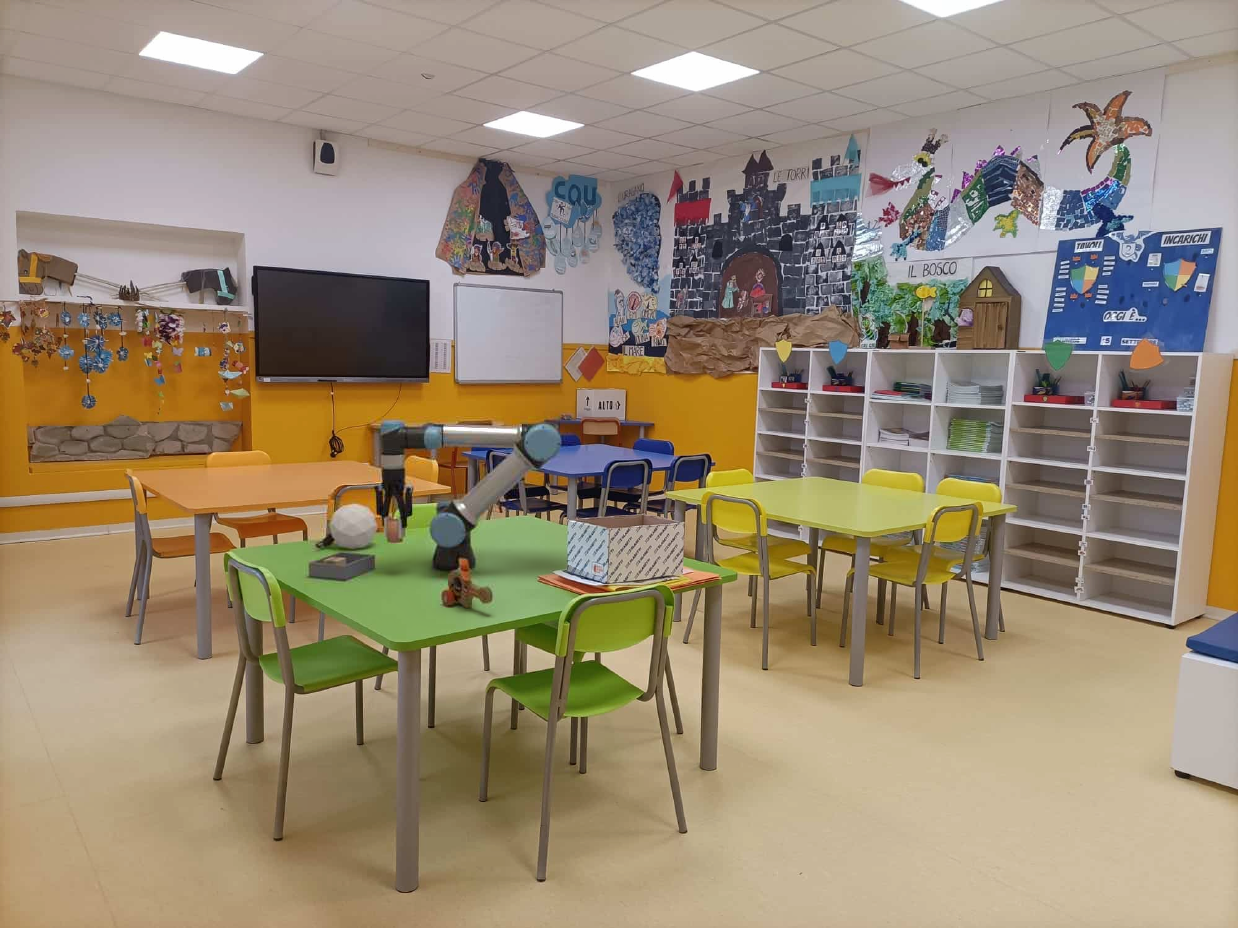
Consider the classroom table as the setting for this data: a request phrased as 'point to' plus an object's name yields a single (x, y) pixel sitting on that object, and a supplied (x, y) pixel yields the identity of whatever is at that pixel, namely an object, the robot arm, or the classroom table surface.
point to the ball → (350, 527)
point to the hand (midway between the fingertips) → (394, 536)
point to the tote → (342, 567)
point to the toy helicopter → (464, 588)
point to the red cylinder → (393, 531)
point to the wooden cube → (335, 561)
